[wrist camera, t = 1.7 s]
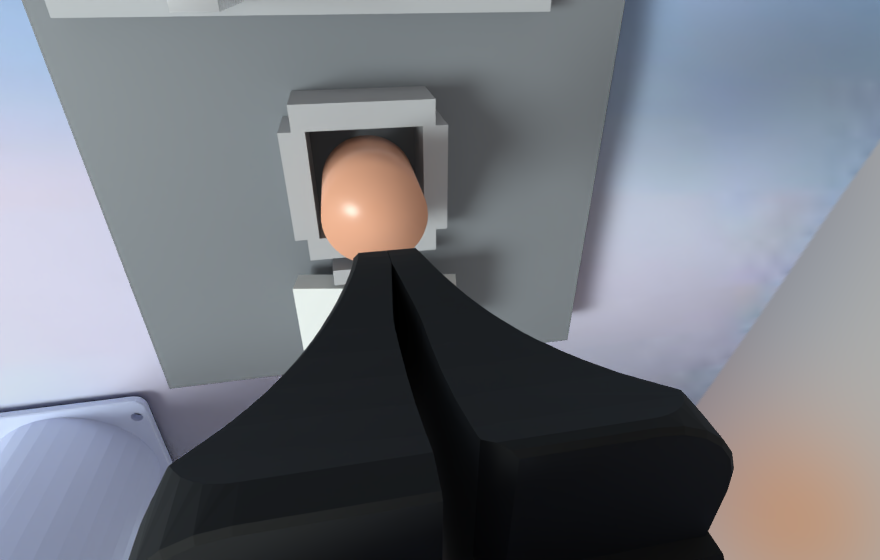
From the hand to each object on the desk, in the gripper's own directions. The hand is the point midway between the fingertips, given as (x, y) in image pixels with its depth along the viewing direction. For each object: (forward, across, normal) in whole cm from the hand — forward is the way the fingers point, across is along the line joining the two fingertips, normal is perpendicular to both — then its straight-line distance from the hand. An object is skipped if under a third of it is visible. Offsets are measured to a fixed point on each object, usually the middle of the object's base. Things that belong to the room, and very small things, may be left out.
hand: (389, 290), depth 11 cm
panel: (+10, 0, 0) cm, 10 cm away
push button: (+7, 0, 0) cm, 7 cm away
